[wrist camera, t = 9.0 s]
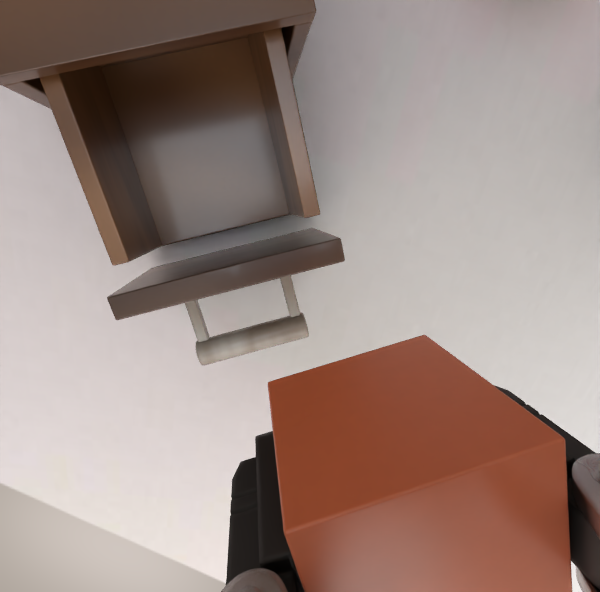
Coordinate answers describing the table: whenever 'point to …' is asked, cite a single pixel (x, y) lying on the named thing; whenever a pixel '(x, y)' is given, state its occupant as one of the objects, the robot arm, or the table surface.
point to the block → (417, 478)
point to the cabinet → (130, 32)
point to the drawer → (196, 175)
